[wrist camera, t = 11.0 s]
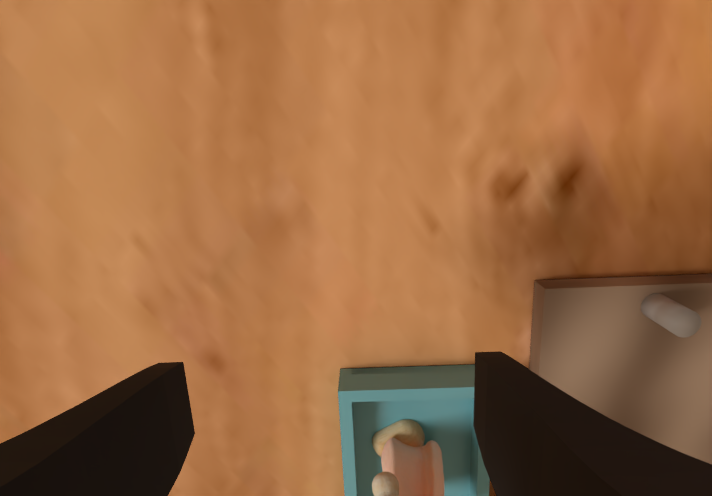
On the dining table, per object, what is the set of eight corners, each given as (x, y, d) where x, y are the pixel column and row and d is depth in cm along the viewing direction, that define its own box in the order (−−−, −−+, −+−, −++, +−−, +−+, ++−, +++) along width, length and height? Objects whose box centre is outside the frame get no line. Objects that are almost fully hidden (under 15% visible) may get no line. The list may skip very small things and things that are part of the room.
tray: (481, 364, 22) (493, 386, 20) (476, 539, 25) (485, 574, 23) (340, 368, 22) (338, 391, 20) (350, 542, 25) (349, 576, 23)
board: (747, 272, 20) (817, 296, 17) (701, 511, 24) (751, 568, 21) (534, 280, 21) (564, 306, 17) (520, 516, 24) (542, 572, 21)
